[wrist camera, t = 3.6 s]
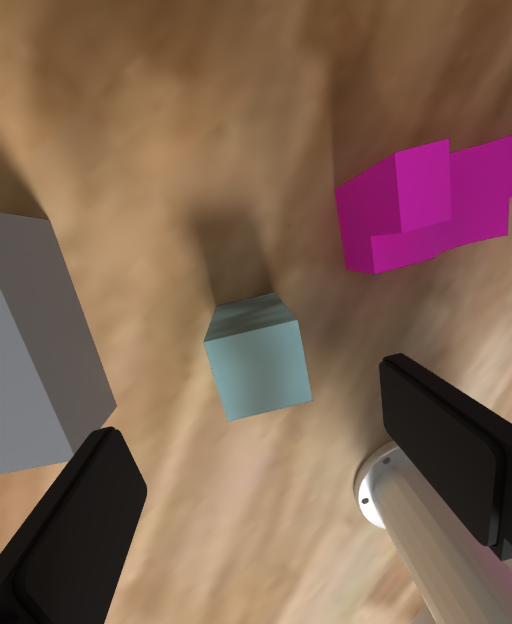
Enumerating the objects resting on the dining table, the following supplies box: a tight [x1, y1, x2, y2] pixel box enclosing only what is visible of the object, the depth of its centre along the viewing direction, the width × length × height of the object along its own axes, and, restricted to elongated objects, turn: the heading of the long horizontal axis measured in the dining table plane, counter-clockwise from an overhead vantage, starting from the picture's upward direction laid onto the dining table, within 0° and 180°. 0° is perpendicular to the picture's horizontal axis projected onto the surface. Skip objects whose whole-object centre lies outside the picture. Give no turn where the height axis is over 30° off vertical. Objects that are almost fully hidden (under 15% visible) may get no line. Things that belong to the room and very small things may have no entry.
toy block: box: [334, 135, 512, 274], centre depth 16 cm, size 15×6×8 cm, turn 105°
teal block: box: [203, 293, 313, 422], centre depth 17 cm, size 5×5×8 cm
